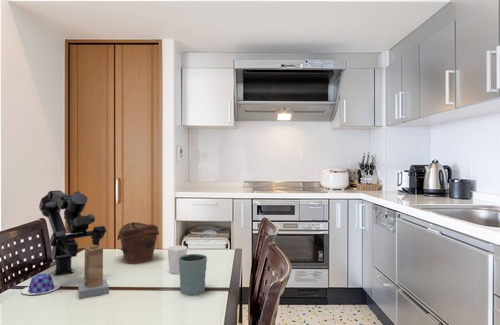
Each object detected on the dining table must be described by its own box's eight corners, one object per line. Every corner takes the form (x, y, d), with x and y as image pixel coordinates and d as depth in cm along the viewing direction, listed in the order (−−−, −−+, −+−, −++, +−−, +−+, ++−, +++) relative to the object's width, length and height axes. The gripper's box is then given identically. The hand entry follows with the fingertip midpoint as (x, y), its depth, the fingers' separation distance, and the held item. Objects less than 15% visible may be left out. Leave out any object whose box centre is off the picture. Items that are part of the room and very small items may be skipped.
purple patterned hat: (31, 299, 110) (31, 283, 110) (14, 292, 116) (14, 277, 116) (67, 288, 120) (67, 273, 120) (49, 282, 126) (50, 268, 126)
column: (84, 284, 115) (84, 245, 116) (97, 281, 119) (97, 243, 119) (89, 288, 112) (89, 247, 113) (102, 284, 116) (103, 245, 116)
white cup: (182, 274, 134) (182, 250, 135) (164, 273, 136) (164, 249, 136) (189, 269, 142) (189, 246, 142) (172, 267, 144) (172, 245, 144)
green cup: (182, 298, 110) (182, 262, 111) (175, 288, 119) (175, 255, 120) (210, 293, 115) (211, 258, 115) (201, 283, 124) (201, 252, 124)
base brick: (78, 290, 117) (78, 283, 117) (105, 285, 122) (105, 278, 122) (79, 298, 109) (79, 291, 109) (108, 293, 114) (108, 286, 114)
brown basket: (128, 253, 166) (128, 218, 166) (165, 255, 164) (165, 219, 164) (108, 264, 149) (108, 225, 149) (149, 266, 146) (150, 226, 146)
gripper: (52, 209, 118) (62, 245, 110) (104, 205, 132) (116, 237, 124) (45, 228, 123) (54, 264, 116) (96, 222, 137) (107, 254, 129)
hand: (84, 254), depth 121 cm, fingers open, 9 cm apart
